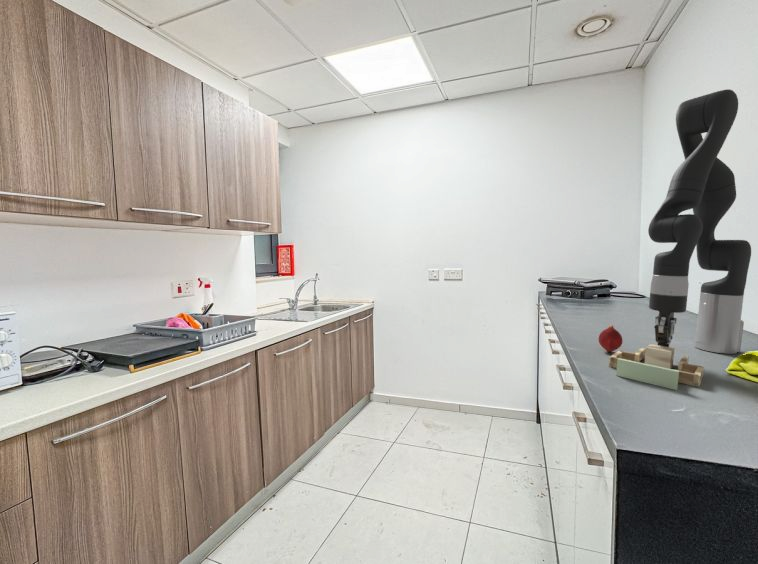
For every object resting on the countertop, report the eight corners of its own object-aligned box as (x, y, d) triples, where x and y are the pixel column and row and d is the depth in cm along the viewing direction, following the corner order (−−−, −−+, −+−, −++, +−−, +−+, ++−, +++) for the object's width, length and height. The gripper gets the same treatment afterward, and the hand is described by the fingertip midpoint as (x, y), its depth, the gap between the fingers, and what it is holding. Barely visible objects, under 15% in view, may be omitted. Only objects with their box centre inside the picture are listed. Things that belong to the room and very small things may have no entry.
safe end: (617, 374, 82) (618, 358, 82) (677, 388, 74) (679, 370, 74) (616, 375, 82) (617, 359, 81) (676, 389, 74) (678, 371, 73)
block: (648, 362, 92) (650, 344, 91) (672, 367, 88) (674, 348, 88) (644, 366, 89) (645, 347, 88) (669, 371, 85) (671, 352, 84)
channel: (625, 353, 99) (626, 345, 99) (706, 369, 87) (707, 359, 87) (602, 371, 85) (603, 361, 84) (696, 393, 72) (697, 381, 72)
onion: (625, 355, 97) (627, 328, 97) (602, 354, 98) (605, 326, 98) (615, 350, 103) (617, 323, 102) (594, 348, 104) (596, 322, 103)
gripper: (683, 296, 83) (676, 366, 84) (691, 292, 92) (684, 355, 93) (645, 293, 88) (639, 358, 90) (655, 289, 97) (649, 349, 99)
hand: (662, 356), depth 92 cm, fingers closed
